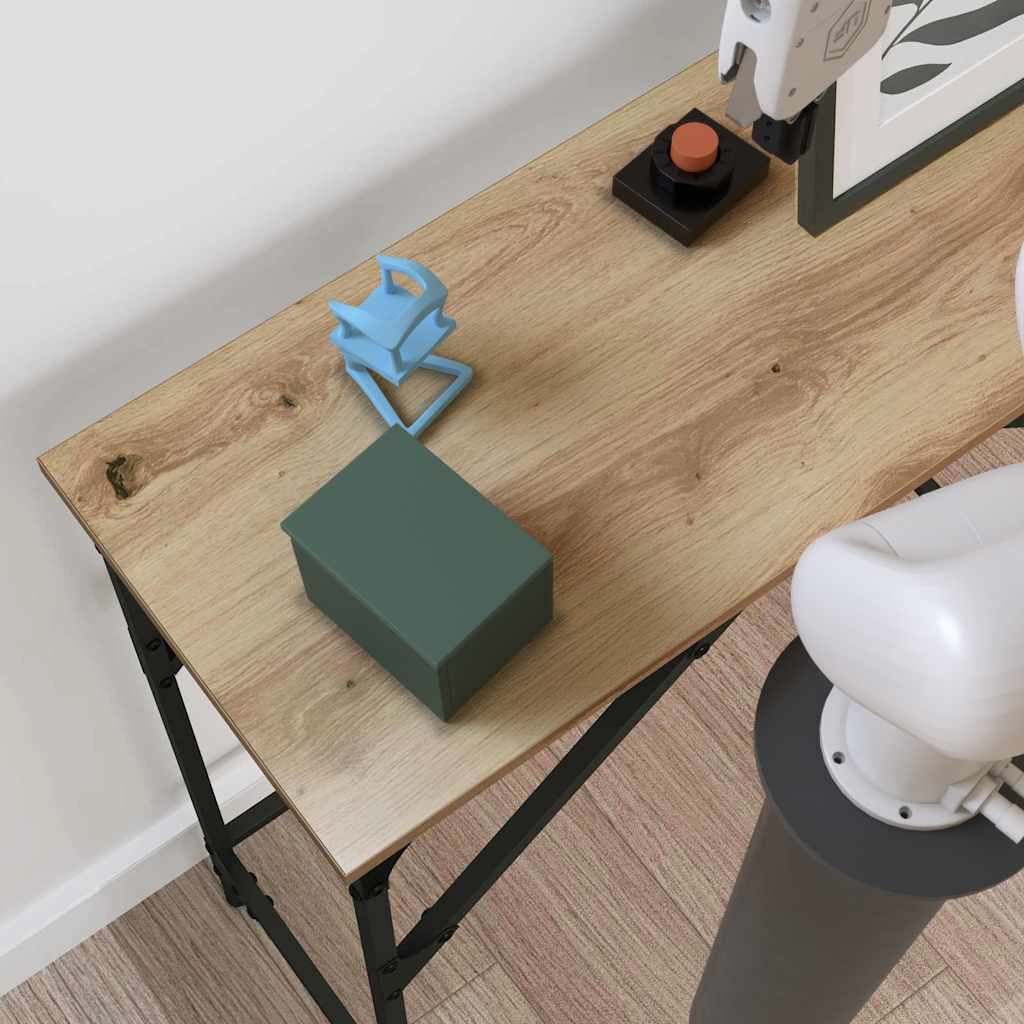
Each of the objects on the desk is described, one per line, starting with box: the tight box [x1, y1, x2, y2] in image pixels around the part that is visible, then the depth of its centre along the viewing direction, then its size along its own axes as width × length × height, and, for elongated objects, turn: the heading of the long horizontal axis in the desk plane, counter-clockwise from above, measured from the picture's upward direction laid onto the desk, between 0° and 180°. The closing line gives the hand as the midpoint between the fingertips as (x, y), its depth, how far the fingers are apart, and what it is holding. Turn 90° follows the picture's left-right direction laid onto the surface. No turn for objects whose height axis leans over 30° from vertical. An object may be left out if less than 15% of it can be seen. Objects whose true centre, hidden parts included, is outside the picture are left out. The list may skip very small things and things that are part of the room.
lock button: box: [671, 122, 718, 172], centre depth 126 cm, size 4×4×2 cm
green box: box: [290, 537, 554, 724], centre depth 108 cm, size 14×11×9 cm
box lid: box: [279, 423, 554, 670], centre depth 104 cm, size 14×11×1 cm
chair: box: [328, 253, 473, 440], centre depth 116 cm, size 8×8×12 cm
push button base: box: [611, 107, 772, 248], centre depth 128 cm, size 8×10×4 cm
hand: (779, 145), depth 97 cm, fingers closed
